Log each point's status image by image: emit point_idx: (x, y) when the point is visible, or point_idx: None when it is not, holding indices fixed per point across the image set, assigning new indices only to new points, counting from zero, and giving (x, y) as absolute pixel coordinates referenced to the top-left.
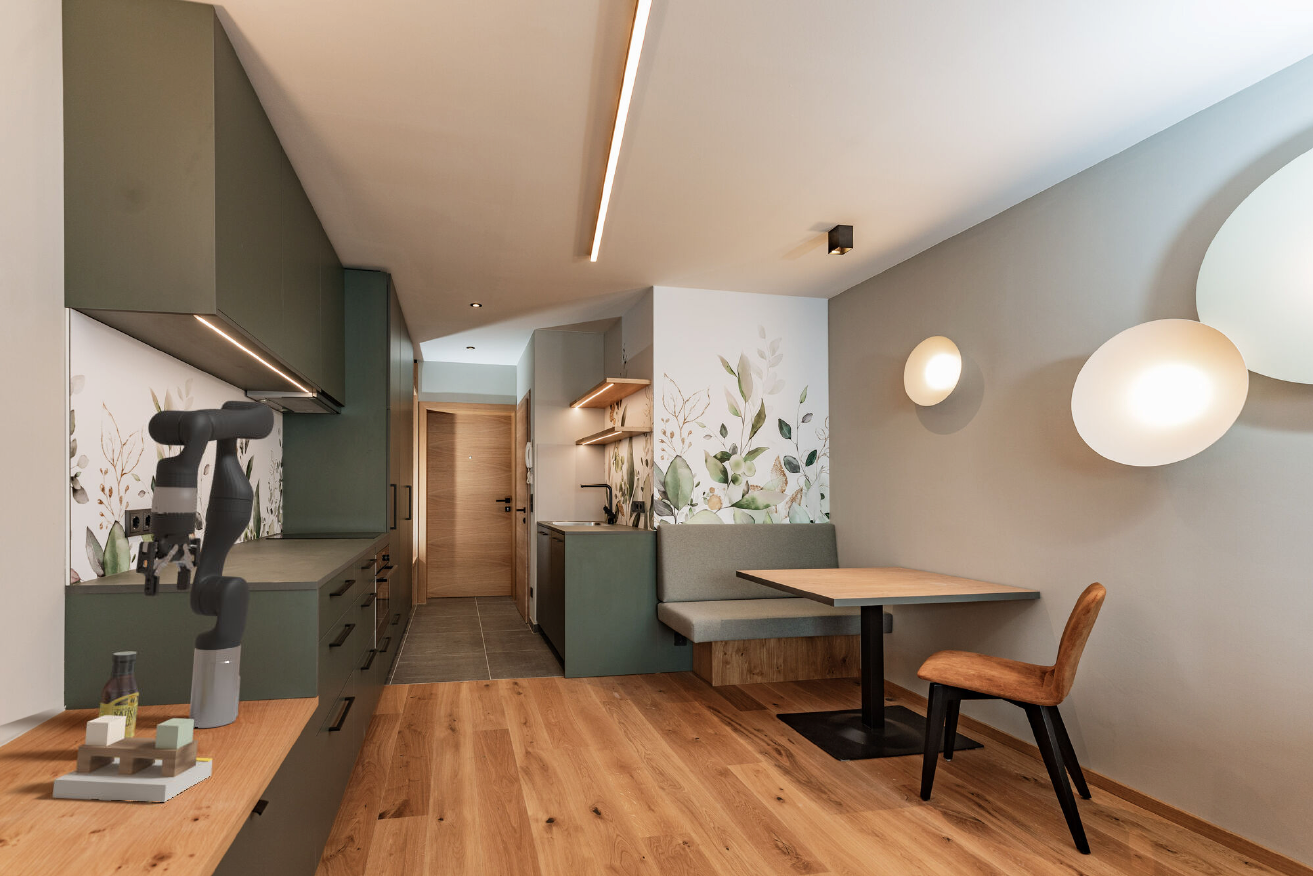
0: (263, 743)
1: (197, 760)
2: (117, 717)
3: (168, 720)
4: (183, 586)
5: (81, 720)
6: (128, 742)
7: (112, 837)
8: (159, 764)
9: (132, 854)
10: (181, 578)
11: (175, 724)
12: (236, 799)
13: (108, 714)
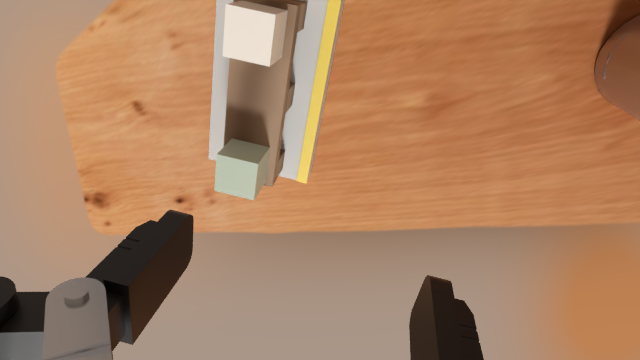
0: (457, 200)
1: (298, 165)
2: (259, 53)
3: (243, 162)
4: (415, 317)
5: None
6: (259, 78)
7: (126, 133)
8: (287, 114)
9: (98, 171)
10: (426, 346)
11: (221, 182)
12: (233, 224)
13: None
